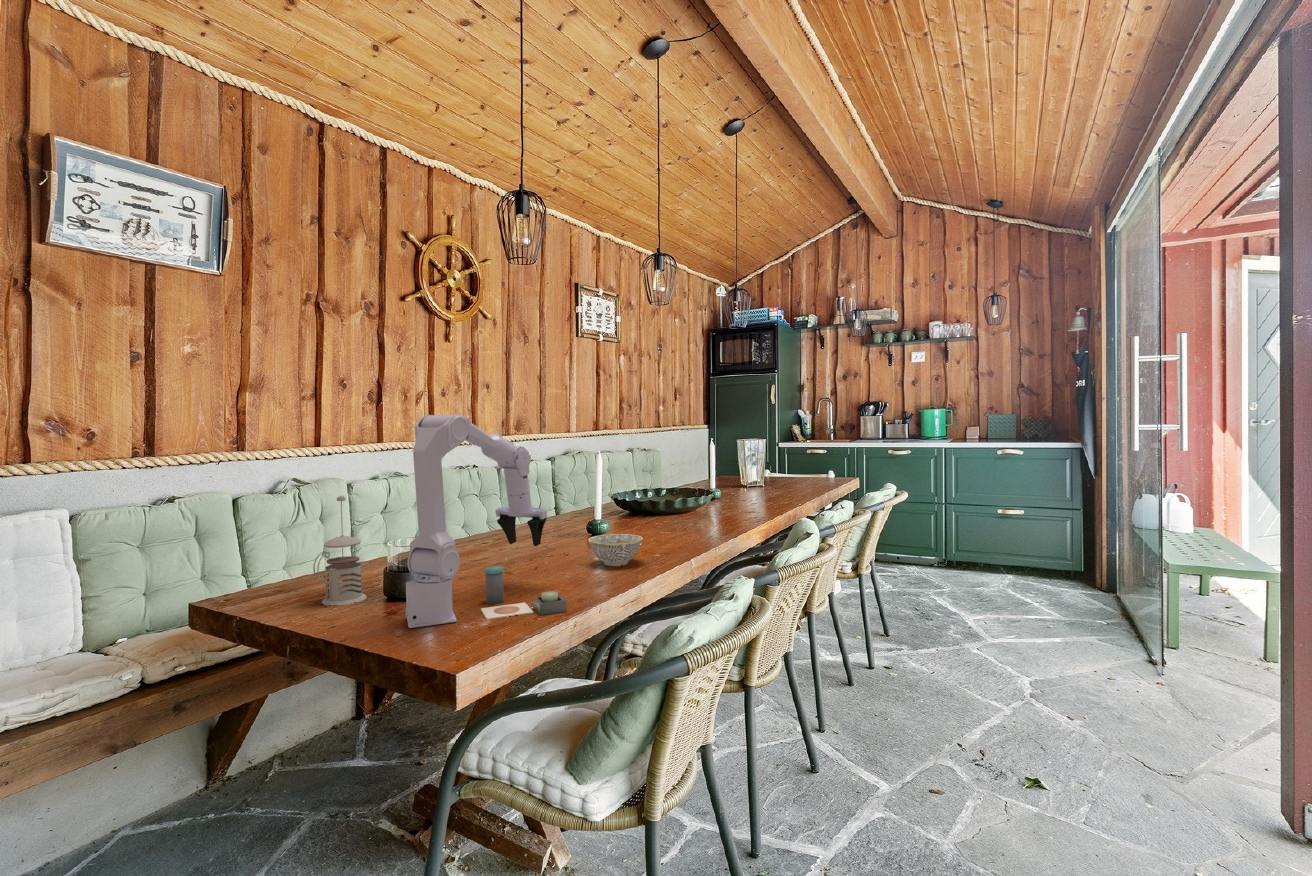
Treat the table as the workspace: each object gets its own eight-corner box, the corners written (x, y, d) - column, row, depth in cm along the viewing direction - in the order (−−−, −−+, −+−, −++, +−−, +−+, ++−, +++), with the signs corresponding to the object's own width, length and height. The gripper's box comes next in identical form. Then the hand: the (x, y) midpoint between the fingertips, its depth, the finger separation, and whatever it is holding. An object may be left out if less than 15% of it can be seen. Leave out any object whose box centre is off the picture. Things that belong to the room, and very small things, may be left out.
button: (543, 605, 140) (543, 596, 140) (539, 601, 144) (539, 592, 144) (559, 603, 142) (559, 594, 142) (555, 599, 145) (555, 590, 145)
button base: (540, 615, 139) (539, 604, 139) (533, 607, 144) (533, 597, 144) (566, 611, 141) (566, 600, 141) (559, 604, 147) (559, 593, 147)
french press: (375, 597, 155) (372, 494, 154) (328, 610, 145) (324, 500, 144) (352, 591, 160) (349, 492, 159) (305, 603, 150) (301, 497, 150)
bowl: (586, 559, 193) (586, 534, 193) (638, 556, 196) (638, 532, 196) (590, 571, 177) (590, 544, 177) (647, 568, 180) (647, 542, 180)
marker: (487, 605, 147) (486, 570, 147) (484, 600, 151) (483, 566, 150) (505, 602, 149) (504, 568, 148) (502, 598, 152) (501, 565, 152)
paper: (486, 619, 136) (486, 618, 136) (480, 609, 143) (480, 608, 143) (533, 613, 140) (533, 611, 140) (525, 603, 148) (525, 602, 148)
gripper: (551, 489, 163) (557, 540, 165) (504, 487, 169) (511, 536, 171) (535, 497, 156) (541, 550, 159) (487, 495, 162) (494, 546, 165)
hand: (524, 543), depth 164 cm, fingers open, 7 cm apart
